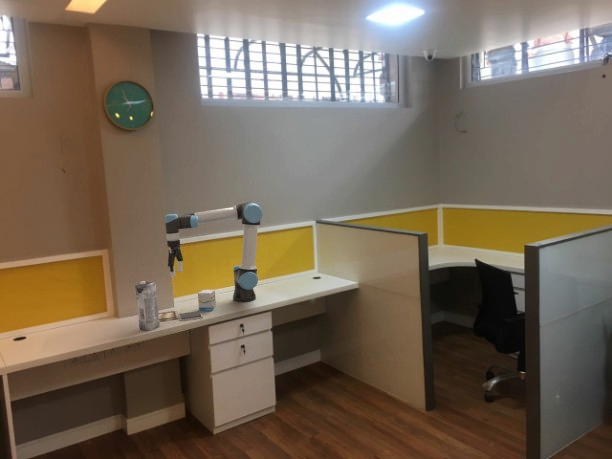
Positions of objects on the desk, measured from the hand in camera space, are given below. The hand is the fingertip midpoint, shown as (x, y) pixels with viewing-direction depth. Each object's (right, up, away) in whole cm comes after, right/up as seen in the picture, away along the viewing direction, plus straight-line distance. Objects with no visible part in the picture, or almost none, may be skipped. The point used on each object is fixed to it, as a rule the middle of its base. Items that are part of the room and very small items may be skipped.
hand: (176, 274), depth 324 cm
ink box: (+17, -23, +10) cm, 30 cm away
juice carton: (-10, -29, -22) cm, 38 cm away
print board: (-7, -26, -3) cm, 27 cm away
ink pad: (+9, -25, -4) cm, 27 cm away
